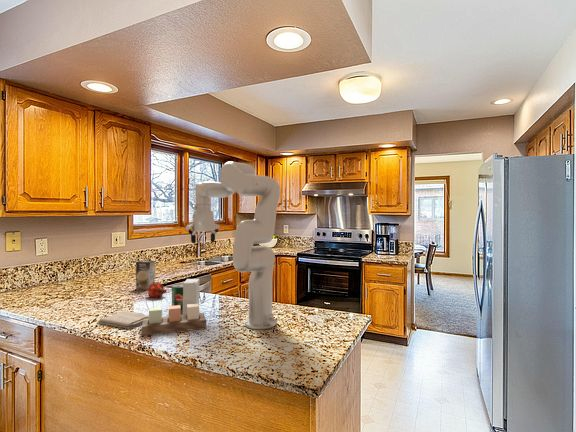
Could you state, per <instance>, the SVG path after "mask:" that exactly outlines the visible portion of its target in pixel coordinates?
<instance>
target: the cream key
mask: <svg viewBox="0 0 576 432" xmlns="http://www.w3.org/2000/svg"><path fill="white" fill-rule="evenodd" d="M199 313H200V303H199V304H187V320H193V319H199Z"/></svg>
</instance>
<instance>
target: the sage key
mask: <svg viewBox="0 0 576 432" xmlns="http://www.w3.org/2000/svg"><path fill="white" fill-rule="evenodd" d="M162 308H163V307H162V306H155V307H149V308H148V315H149V324H154V323H162V317H163V316H162V315H163V311H162Z"/></svg>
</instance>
